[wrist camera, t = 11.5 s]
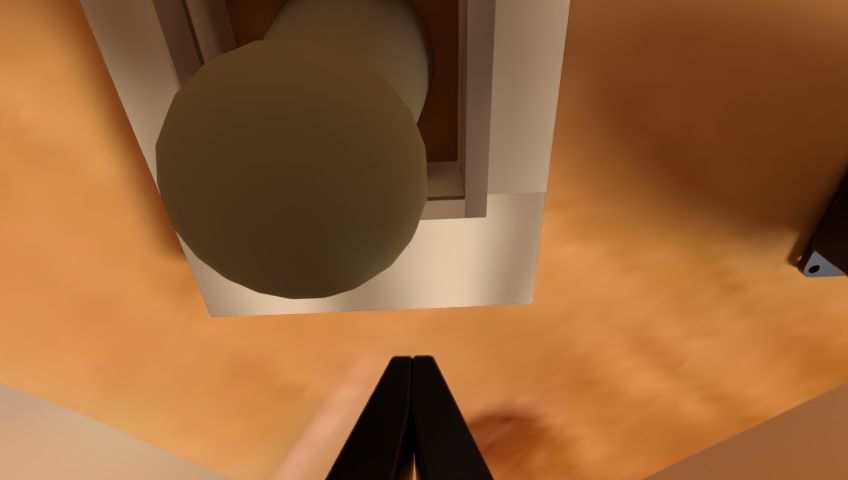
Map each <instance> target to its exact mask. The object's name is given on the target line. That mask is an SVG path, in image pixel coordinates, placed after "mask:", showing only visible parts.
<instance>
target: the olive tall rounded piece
mask: <svg viewBox="0 0 848 480" xmlns="http://www.w3.org/2000/svg"><path fill="white" fill-rule="evenodd" d="M433 74H434V73H433V46H432V43H431V40H430V37H429V34H428V31H427V28H426V25H425V22H424V20H423V19H422V17H421V16H420V15H419V13H418V12H417V10H416V9H415V8H414V6H413V5H412V3H411V2H410V1H409V0H285V1H284V2H283V4H282V6H281V8H280V10H279V11H278V13H277V15H276V17H275V19H274V20H273V22H272V24H271V26H270V28H269V30H268V31H267V33H266V35H265V37H264V39H263V40H260V41H253V42H251V43H249V44H246V45H244V46H242V47H239V48H237V49H235V50H232V51H230V52H228V53H225V54H223V55H220V56H218V57H216V58H214V59H213V60H211V61H209V62H208V63H206V64H204V65H203V66H202V67H201V68H200V69H199V70H198V71H197V72H196V73H195V74H194V75H193V76H192V77H191V78H190V79H189V81H188V82H187V83H186V84H185V85H184V86H183V87H182V88H181V89H180V90H179V91H178V92H177V93H176V94H175V96H174V98H173V100H172V102H171V105H170V107H169V109H168V112H167V115H166V117H165V120H164V123H163V126H162V128H161V131H160V134H159V137H158V139H157V142H156V145H155V151H156V170H157V185H158V188H159V192H160V195H161V198H162V201H163V203H164V206H165V208H166V210H167V213H168V215H169V218H170V220H171V222H172V225H173V227H174V230H175V231H176V232H177V233H178V235H179V236H180V237H181V238H182V240H183V241H184V242H185V243H186V244H187V246H188V247H189V248H190V249H191V251H192V252H193V253H194V254H195V255H196V257H197V258H199V259H200V260H201V261H203V262H204V263H205V264H207V265H208V266H209V267H211V268H212V269H213V270H215V271H216V272H217V273H219V274H220V275H221V276H223V277H224V278H226V279H228V280H230V281H232V282H234V283H237V284H239V285H241V286H244V287H246V288H248V289H250V290H253V291H255V292H257V293H262V294H267V295H272V296H277V297H282V298H287V299H315V298H327V297H330V296H333V295H337V294H340V293H343V292H347V291H350V290H354V289H356V288H357V287H359V286H361V285H363V284H364V283H366V282H367V281H369V280H370V279H372V278H373V277H375V276H376V275H378V274H380V273H381V272H383V271H384V270H386V269H387V268H389V267H390V266H392V264H393V263H394V262H395V261H396V259H397V258H398V257H399V256H400V254H401V253H402V252H403V250H404V249H405V248H406V247H407V245H408V244H409V243H410V242H411V240H412V238H413V236H414V234H415V232H416V230H417V227H418V224H419V221H420V218H421V215H422V212H423V209H424V206H425V203H426V200H427V197H428V190H427V163H426V149H425V145H424V142H423V140H422V137H421V135H420V132H419V129H418V127H417V122H418V119H419V117H420V114H421V112H422V109H423V106H424V104H425V101H426V98H427V95H428V92H429V88H430V85H431V81H432V78H433Z"/></svg>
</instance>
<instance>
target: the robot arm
mask: <svg viewBox="0 0 848 480" xmlns="http://www.w3.org/2000/svg"><path fill="white" fill-rule="evenodd" d="M797 268H798V270H799V271H800V272H801V273H802V274H803V275H804V276H806V277H827V276H847V277H848V172H847V174H846V176H845V178H844V180H843V182H842V184H841V185H840V187H839V189H838V191H837V193H836V195H835V197H834V198H833V200H832V202H831V204H830V206H829V208H828V210H827V212H826V213H825V215H824V217H823V219H822V221H821V223H820V225H819V227H818V228H817V230H816V232H815V234H814V236H813V238H812V240H811V242H810V243H809V245H808V247H807V249H806V251H805V253H804V255H803V257H802V258H801V260H800V262H799V264H798V267H797ZM414 456H415V470H416V480H494V478H493V476H492V474H491V472H490V470H489V468H488V466H487V464H486V462H485V460H484V458H483V456H482V454H481V452H480V450H479V448H478V446H477V444H476V442H475V440H474V438H473V436H472V434H471V432H470V430H469V428H468V426H467V424H466V422H465V420H464V418H463V416H462V414H461V411H460V409H459V407H458V405H457V403H456V401H455V399H454V397H453V395H452V393H451V391H450V389H449V387H448V385H447V383H446V381H445V379H444V377H443V375H442V373H441V371H440V369H439V367H438V365H437V363H436V361H435V359H434V357H433V356H431V355H416V356H414V357H413V359H412V357H411V356H394V357H392V359H391V360H390V362H389V364H388V365H387V367H386V369H385V371H384V373H383V374H382V376H381V378H380V380H379V382H378V384H377V385H376V387H375V389H374V391H373V393H372V395H371V396H370V398H369V400H368V402H367V404H366V406H365V407H364V409H363V411H362V413H361V415H360V417H359V418H358V420H357V422H356V424H355V426H354V428H353V429H352V431H351V433H350V435H349V437H348V439H347V440H346V442H345V444H344V446H343V448H342V449H341V451H340V453H339V455H338V457H337V459H336V460H335V462H334V464H333V466H332V468H331V470H330V471H329V473H328V475H327V477H326V479H325V480H413V469H414Z"/></svg>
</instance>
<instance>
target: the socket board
mask: <svg viewBox="0 0 848 480" xmlns="http://www.w3.org/2000/svg"><path fill="white" fill-rule="evenodd" d="M79 1H80V3H81V6H82V8H83V11H84V13H85V15H86V18H87V20H88V23H89V25H90V27H91V30H92V32H93V35H94V37H95V40H96V42H97V44H98V47H99V49H100V52H101V54H102V56H103V59H104V61H105V64H106V66H107V68H108V71H109V73H110V76H111V78H112V80H113V83H114V85H115V88H116V90H117V92H118V95H119V97H120V100H121V102H122V104H123V107H124V109H125V112H126V114H127V116H128V119H129V121H130V124H131V126H132V128H133V131H134V133H135V136H136V138H137V140H138V143H139V145H140V148H141V150H142V152H143V155H144V157H145V160H146V162H147V164H148V167H149V169H150V172H151V174H152V176H153V179H154V181H155V184H156V186H157V188H158V185H157V170H156V151H155V145H156V142H157V139H158V137H159V134H160V131H161V128H162V126H163V123H164V120H165V117H166V115H167V112H168V109H169V107H170V105H171V102H172V100H173V98H174V96H175V94H176V93H177V92H178V91H179V90H180V89H181V88H182V87H183V86H184V85H185V84H186V83H187V82H188V81H189V79H190V78H191V77H192V76H193V75H194V74H195V73H196V72H197V71H198V70H199V69H200V68H201V67H202V66H203V65H204V64H206V63H208V62H209V61H211V60H213V59H214V58H216V57H218V56H220V55H223V54H225V53H228V52H230V51H232V50H235V49H237V44H236V40H235V36H234V32H233V29H232V25H231V21H230V17H229V13H228V9H227V5H226V1H225V0H79ZM569 7H570V0H458V161H444V162H426V163H427V190H428V197H427V200H426V203H425V206H424V209H423V212H422V215H421V218H420V221H419V224H418V227H417V230H416V232H415V234H414V236H413V238H412V240H411V242H410V243H409V244H408V245H407V247H406V248H405V249H404V250H403V252H402V253H401V254H400V256H399V257H398V258H397V259H396V261H395V262H394V263H393V264H392V266H390V267H389V268H387V269H386V270H384V271H383V272H381V273H380V274H378V275H376V276H375V277H373V278H372V279H370V280H369V281H367V282H366V283H364V284H363V285H361V286H359V287H357V288H356V289H354V290H350V291H347V292H343V293H340V294H337V295H333V296H330V297H327V298H315V299H287V298H282V297H277V296H272V295H267V294H262V293H257V292H255V291H253V290H250V289H248V288H246V287H244V286H241V285H239V284H237V283H234V282H232V281H230V280H228V279H226V278H224V277H223V276H221V275H220V274H219V273H217V272H216V271H215V270H213V269H212V268H211V267H209V266H208V265H207V264H205V263H204V262H203V261H201V260H200V259H199V258H197V257H196V255H195V254H194V253H193V252H192V251H191V249H190V248H189V247H188V246H187V244H186V243H185V242H184V241H183V240H182V238H181V237H180V236H179V235H178V233H177V232H176V231H175V232H176V234H177V236H178V239H179V241H180V244H181V246H182V248H183V251H184V253H185V256H186V258H187V260H188V263H189V265H190V268H191V270H192V272H193V275H194V277H195V280H196V282H197V284H198V287H199V289H200V292H201V294H202V296H203V299H204V301H205V304H206V306H207V308H208V311H209V313H210V316H211V317H227V316H251V315H275V314H299V313H323V312H347V311H370V310H394V309H418V308H442V307H466V306H490V305H513V304H532V300H533V292H534V284H535V276H536V268H537V260H538V252H539V245H540V237H541V229H542V221H543V213H544V205H545V197H546V189H547V181H548V173H549V165H550V157H551V149H552V142H553V134H554V126H555V118H556V110H557V102H558V94H559V86H560V78H561V70H562V62H563V54H564V46H565V39H566V31H567V23H568V15H569ZM158 191H159V188H158ZM159 193H160V192H159ZM160 196H161V195H160Z"/></svg>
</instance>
